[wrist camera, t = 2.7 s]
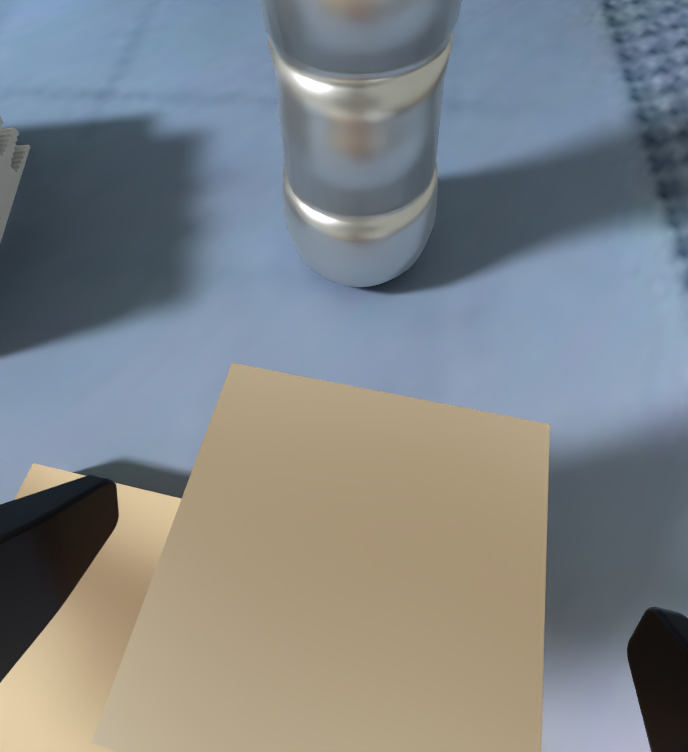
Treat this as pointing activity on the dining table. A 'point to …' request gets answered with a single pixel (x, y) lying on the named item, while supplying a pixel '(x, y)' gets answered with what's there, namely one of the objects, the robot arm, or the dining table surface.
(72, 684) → the board
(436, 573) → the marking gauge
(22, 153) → the aluminum extrusion profile
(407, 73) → the plastic bottle
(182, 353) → the dining table surface
